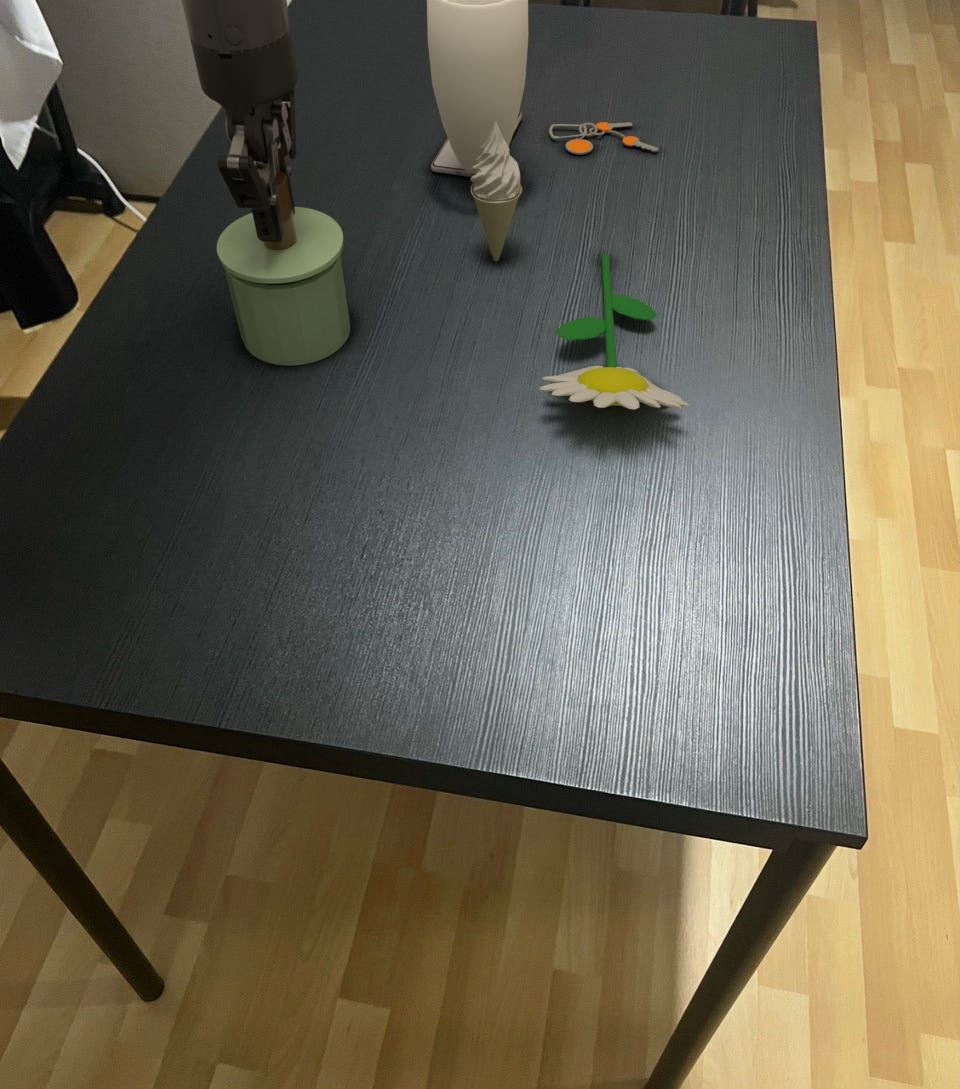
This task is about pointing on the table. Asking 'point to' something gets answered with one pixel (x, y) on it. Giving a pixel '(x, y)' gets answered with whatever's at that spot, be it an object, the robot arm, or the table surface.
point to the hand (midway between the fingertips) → (277, 227)
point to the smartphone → (453, 159)
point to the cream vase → (477, 69)
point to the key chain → (586, 146)
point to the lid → (281, 244)
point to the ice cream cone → (496, 189)
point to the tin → (293, 316)
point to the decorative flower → (609, 360)
